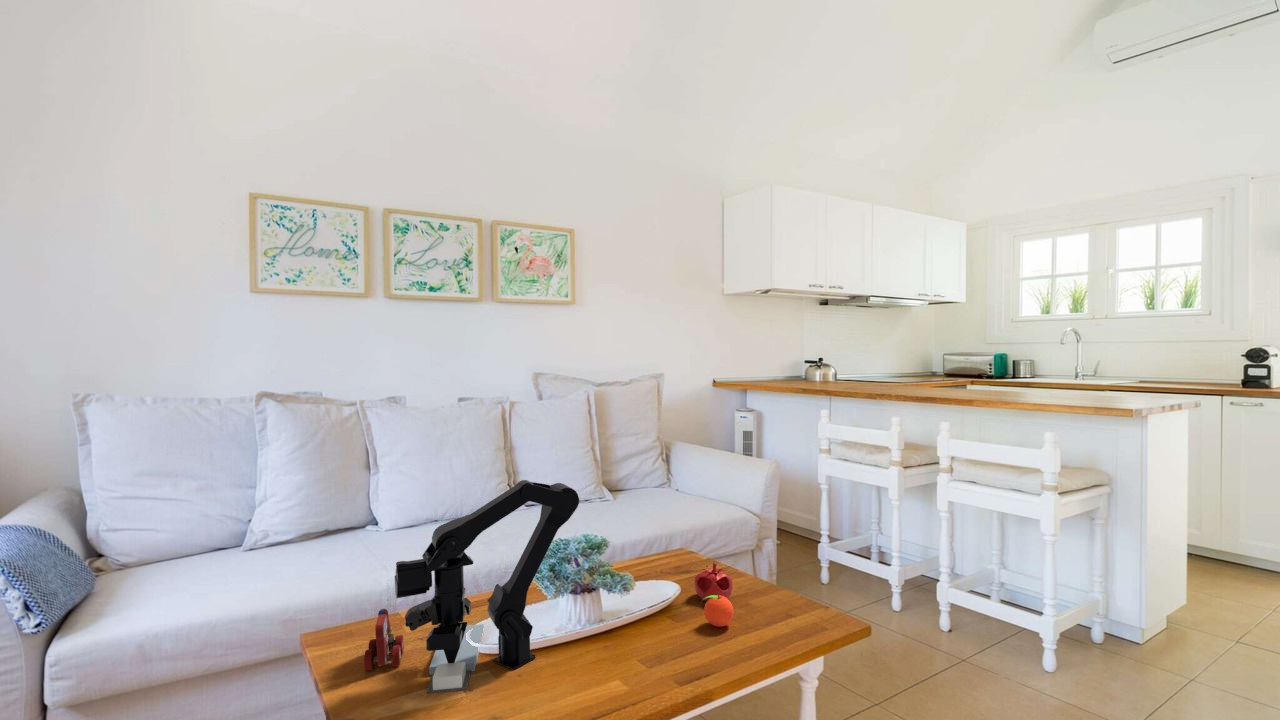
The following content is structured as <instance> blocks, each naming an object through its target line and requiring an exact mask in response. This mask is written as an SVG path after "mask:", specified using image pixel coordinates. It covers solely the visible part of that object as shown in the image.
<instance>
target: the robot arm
mask: <svg viewBox="0 0 1280 720" xmlns="http://www.w3.org/2000/svg"><path fill="white" fill-rule="evenodd" d="M529 502H532V503H535V504H539V505H541V509H540V517H539V520H538V522H537V524H536V526H535V527H534V528H535V529H534V530H533V531H532V534H531V536H530V538H529V539H528V542H527V544H526V546H525V548H524V550H523V552H522V554H521V556H520V558H519V560H518V562H517V563H516V566H515V568H514V570H513V571H512V574H511V576H510V578H509V579H508V580H507V581H506V582H505V583H504V584H503V585H501V584H499V583H495V584H496V585H495V586H494V589H493V592H492V593H491V595H490V597H488V599H486V601H487V603H488V605H487V614H488V616H489V617H490V619H491V621H492V623H493V624H494V626H495V628H496V629H497V630H498V637H497V640H498V641H497V642H498V643H497V644H498V656H497V657H494V659H493V662H494V663H496V664H499V665H501V666H504V667H506V668H509V669H510V670H516V669H518V668H520V667H522V666H523V665H526V664H527V663H529V662H530V661H533V660H535V659H536V657H537V655H536V654H534V653H531V636H532V635H531V634H532V631H533V629H534V627H533V625H532V624H531V622H530V621H529V620H528V618H527V617H526V616H525V613H524V612H525V610H526V605H527V598H528V591H529V588H530V586H531V585H532V583H533V581H534V578H535V577H536V575H537V572H538V571H539V569H540V567H541V566H542V565H541V564H542V563H543V560H544V559H545V557H546V554H547V553H548V551H549V549H550V547H551V544H552V543H553V540H554V539H555V537H556V534H557V533H558V531H559V529H560V528H561V527H563V526H564V524H565V523H567V522H568V521H569V519H570V518H572V516H573V514H574V513H576V512H575V511H576V510H577V509H578V507H579V504H580V497H579V494H578V492H577V491H576V489H574V488H572V487H570V486H568V485H566V484H564V483H561V482H557V483H553V484H551V485H550V484H547V483H542V482H541V483H540V482H534V481H530V480H527V479H522V480H520V481H518V482H517V483H516V484H515V485H514V486H512V487H511V488H509V489H508V490H506V491H504V492H503V493H501V494H499V495H498V496H497V497H495V498H493V499H492V500H490V501H489V502H488V503H485V504H484V505H482V506H481V507H479V508H478V509H476V510H475V511H473V512H472V513H469V514H467V515H466V516H462V517H458V518H455V519H452V520H450V521H448V522H445V523H443V524H440V525H439V526H437V527H436V528H435V529H434V531H433V533H432V535H431V542H430V544H429V545H428V547H427V548H426V549H425V551H424V552H423V554H422V556H421V557H422V558H420V559H414V560H407V561H406V560H400V561H396V562H395V567H396V568H395V575H394V590H395V591H394V592H395V598H396V599H400V598H401V599H402V598H407V597H413V596H418V595H424V594H427V593H428V591H430V589H431V588H432V587H433V576H434V593H433V594H434V596H433V597H432V598H431V599H427V600H425V601H423V602H421V603H418V604H416V605H414V606H411V607H410V608H409V609H408V610H407V611H406V614H405V615H404V620H405V624H404V625H405V627H407V628H409V631H411V632H413V631H416V630H417V629H418V628H421V627H422V626H424V625H427V624H429V623H431V626H437V627H433V629H431V631H429V633H428V636H427V638H426V643H425V644H426V651H428V652H431V651H436V650H444V653H445V656H446V659H447V662H448V663H454V662H455V660H456V657H457V654H458V651H459V648H460V645H461V642H462V640H463V637H464V633H465V630H466V627H467V626H468V622H467V621H464V619H465V616H469V615H470V614H471V611H472V601H470V599H469V598H468V597H465V595H466V587H465V579H464V577H465V575H464V567H467V566H472V565H474V560H473V558H471V556H470V555H468V554H467V553H466V550H467V549H468V548H469V547H470V546H471V545H472V544H473V542H475V540H476V539H477V538H478V536H480V534H482V533H483V532H484V531H485V530H487V529H490V527H492V526H493V525H495V524H496V523H498V522H500V521H501V520H502V519H504V518H506V517H507V516H509V515H510V514H512V513H513V512H515V511H516V510H518V509H519V508H521V507H522V506H524V505H526V504H527V503H529ZM432 572H433V574H432Z"/></svg>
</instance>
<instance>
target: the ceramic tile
mask: <svg viewBox="0 0 1280 720" xmlns="http://www.w3.org/2000/svg"><path fill="white" fill-rule="evenodd" d="M465 675H466V662H458V663H447V664H438V665H437V668H436V670H435V673H434V676H433V690H441V689H452V688H462V686H463V682H464V679H465Z"/></svg>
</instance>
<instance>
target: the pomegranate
mask: <svg viewBox="0 0 1280 720" xmlns="http://www.w3.org/2000/svg"><path fill="white" fill-rule="evenodd" d="M719 567H720V565H718V564H717V562H712V568H711V566H710V565H706V566H705V568H702V569H700V570H699V571H700V572H699V573H698V574H696V575H695V577H694V580H693V581H694V590H695V593H696V594H697V595H698V597H699V598H700V599H701V601H702V600H703V599H704V598H706V597H708V596H711V595H721V596H724V597H725V598H727V599H728V600H729V598H730V597H731V595H732V592H733V589H734V588H733V580H732V578H731V577H730V576H729V575H728V574H726V573H724V572H723V571H727V569H726V568H725V569H724V568H719ZM706 568H708V569H706ZM718 568H719V569H718ZM708 599H710V598H706V599H704V600H703V601H705V602H707V601H708Z"/></svg>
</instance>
